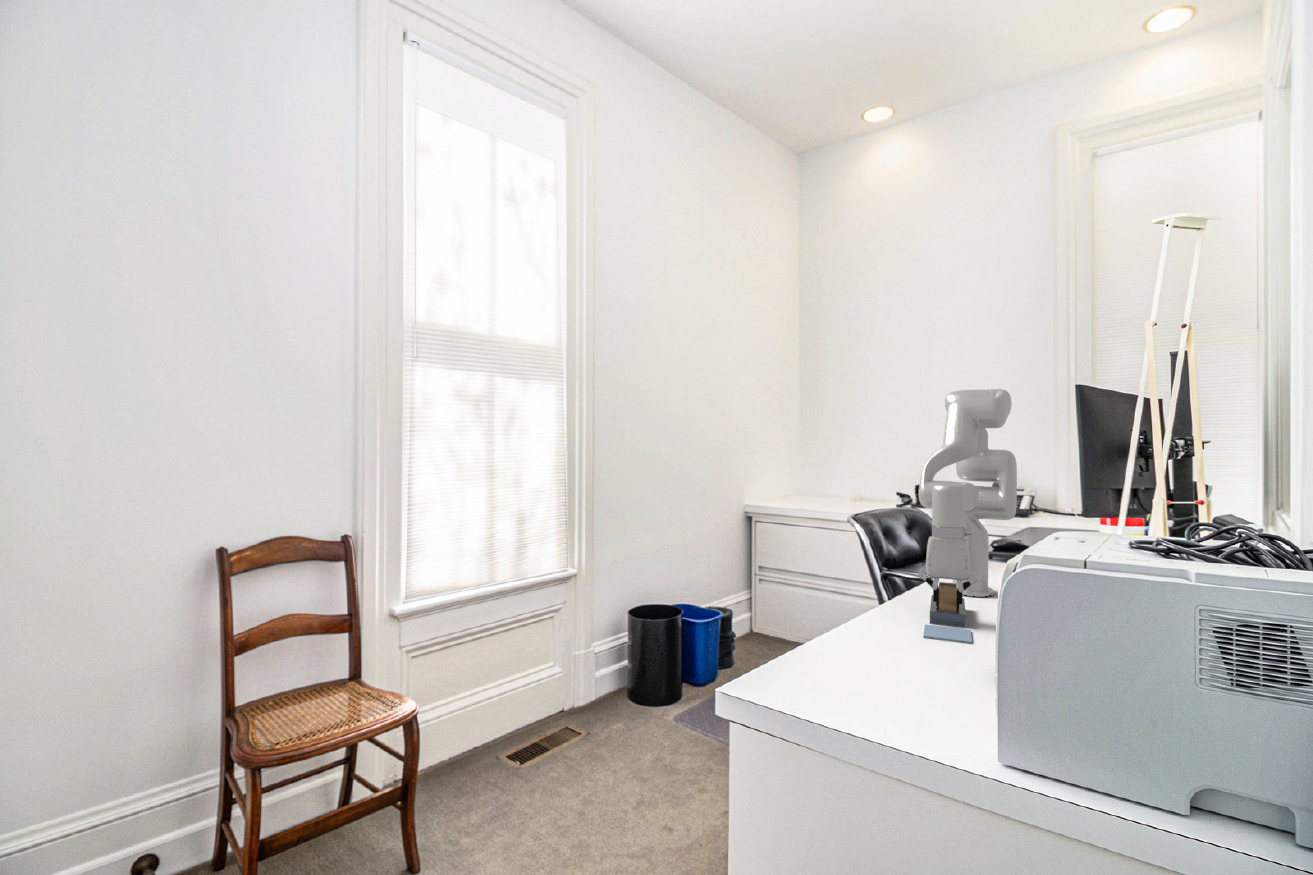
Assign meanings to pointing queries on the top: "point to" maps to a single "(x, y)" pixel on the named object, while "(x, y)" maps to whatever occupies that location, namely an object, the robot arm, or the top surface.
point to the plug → (947, 596)
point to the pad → (947, 634)
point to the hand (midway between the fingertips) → (947, 605)
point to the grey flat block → (948, 615)
